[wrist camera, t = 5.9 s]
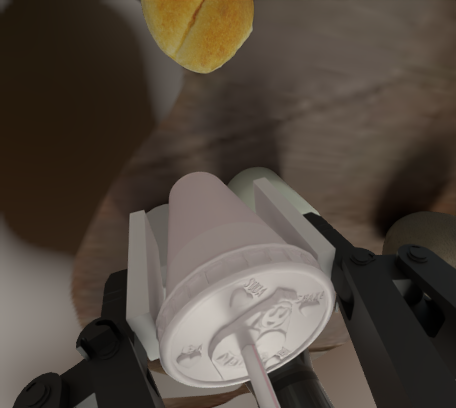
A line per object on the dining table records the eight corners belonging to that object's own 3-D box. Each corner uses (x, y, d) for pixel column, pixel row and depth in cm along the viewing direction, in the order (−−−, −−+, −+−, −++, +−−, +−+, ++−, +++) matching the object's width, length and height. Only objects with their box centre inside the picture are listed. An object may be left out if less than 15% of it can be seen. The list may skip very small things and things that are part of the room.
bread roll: (179, -96, 18) (188, -126, 15) (260, 12, 23) (280, 6, 20) (115, 9, 20) (112, 2, 17) (203, 89, 25) (213, 95, 22)
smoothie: (130, 225, 16) (118, 658, 5) (171, 131, 14) (329, 504, 3) (217, 246, 19) (339, 541, 8) (262, 172, 17) (519, 427, 6)
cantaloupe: (422, 177, 41) (544, 234, 29) (432, 226, 49) (530, 287, 37) (348, 232, 42) (434, 308, 30) (370, 271, 50) (445, 343, 38)
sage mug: (285, 219, 37) (322, 263, 29) (232, 239, 36) (258, 290, 28) (278, 158, 31) (322, 192, 24) (216, 179, 30) (242, 222, 23)
